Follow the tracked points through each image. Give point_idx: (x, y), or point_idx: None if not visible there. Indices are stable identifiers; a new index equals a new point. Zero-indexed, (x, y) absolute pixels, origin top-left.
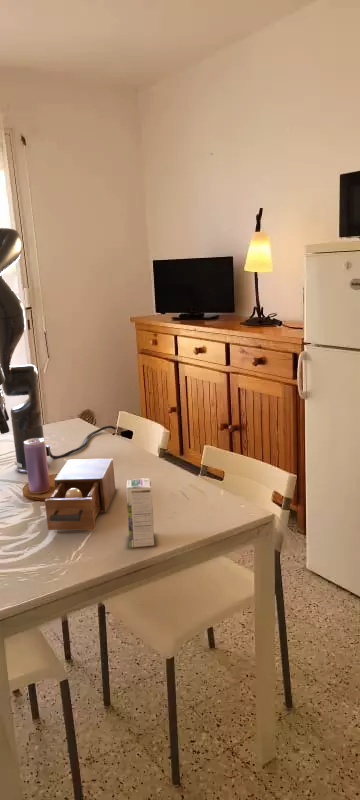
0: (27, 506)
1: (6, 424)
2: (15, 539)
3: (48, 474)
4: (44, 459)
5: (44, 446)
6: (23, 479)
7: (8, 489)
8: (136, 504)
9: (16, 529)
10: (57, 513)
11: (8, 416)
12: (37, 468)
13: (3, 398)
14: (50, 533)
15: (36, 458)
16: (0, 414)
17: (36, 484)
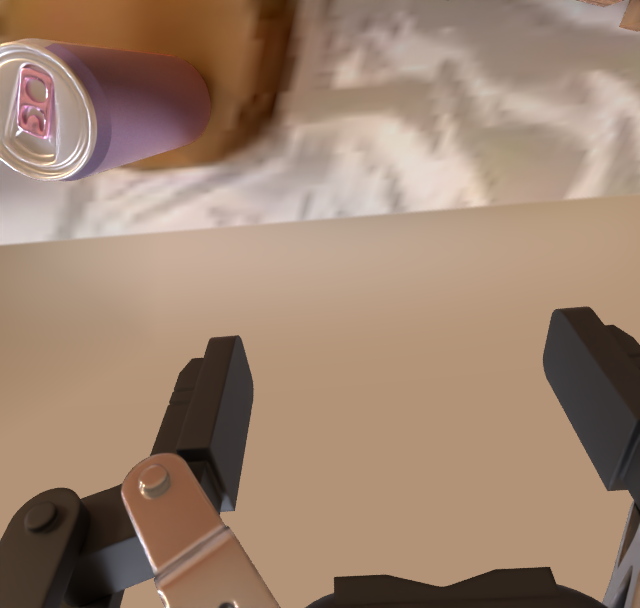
0: (324, 142)
1: (627, 364)
2: (614, 165)
3: (141, 51)
4: (121, 57)
5: (63, 44)
6: None
7: (146, 226)
8: None
9: (525, 168)
10: None
11: (214, 351)
12: (166, 100)
13: (272, 595)
14: None
15: (141, 102)
16: (239, 439)
17: (198, 111)
